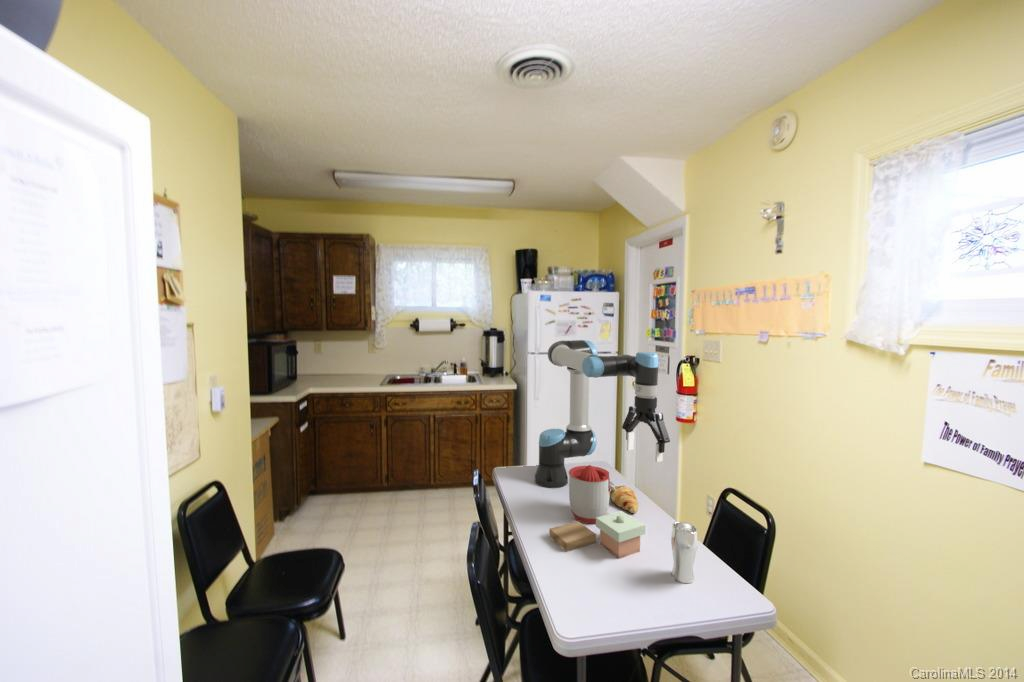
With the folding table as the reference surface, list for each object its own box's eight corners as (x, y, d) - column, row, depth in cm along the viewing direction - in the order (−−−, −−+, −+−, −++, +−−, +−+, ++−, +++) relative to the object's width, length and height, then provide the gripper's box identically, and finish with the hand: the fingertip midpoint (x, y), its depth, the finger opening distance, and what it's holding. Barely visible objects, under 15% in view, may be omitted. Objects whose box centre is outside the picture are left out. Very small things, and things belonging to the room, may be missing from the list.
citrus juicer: (615, 529, 147) (617, 475, 146) (566, 524, 151) (567, 470, 149) (613, 509, 163) (615, 460, 161) (569, 505, 166) (570, 456, 165)
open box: (599, 544, 138) (600, 527, 137) (620, 538, 142) (620, 521, 141) (618, 558, 130) (619, 540, 129) (639, 551, 134) (640, 533, 134)
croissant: (641, 523, 159) (651, 505, 159) (620, 514, 157) (630, 495, 157) (618, 498, 180) (626, 482, 180) (599, 489, 178) (607, 473, 178)
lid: (595, 526, 138) (596, 514, 137) (620, 519, 143) (621, 507, 143) (618, 542, 128) (619, 529, 128) (644, 534, 133) (645, 521, 133)
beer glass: (674, 566, 126) (676, 518, 125) (698, 576, 121) (700, 526, 120) (666, 577, 120) (668, 527, 120) (691, 587, 116) (693, 536, 115)
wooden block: (549, 537, 142) (549, 528, 142) (577, 529, 148) (577, 520, 147) (566, 551, 133) (566, 542, 133) (595, 542, 139) (595, 534, 139)
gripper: (613, 391, 155) (612, 446, 156) (666, 403, 133) (664, 468, 134) (628, 389, 158) (627, 444, 160) (682, 401, 136) (680, 464, 138)
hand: (644, 455), depth 147 cm, fingers open, 13 cm apart
